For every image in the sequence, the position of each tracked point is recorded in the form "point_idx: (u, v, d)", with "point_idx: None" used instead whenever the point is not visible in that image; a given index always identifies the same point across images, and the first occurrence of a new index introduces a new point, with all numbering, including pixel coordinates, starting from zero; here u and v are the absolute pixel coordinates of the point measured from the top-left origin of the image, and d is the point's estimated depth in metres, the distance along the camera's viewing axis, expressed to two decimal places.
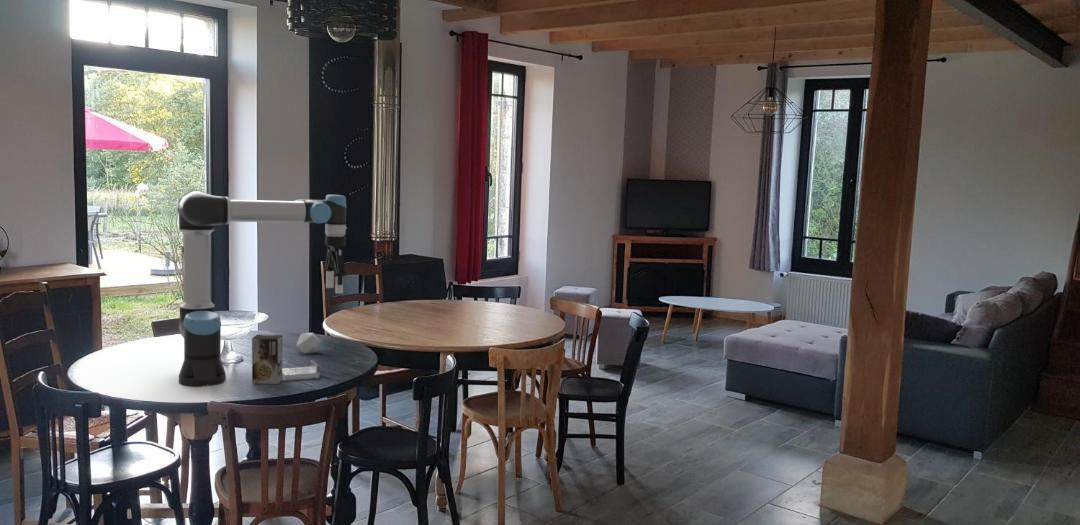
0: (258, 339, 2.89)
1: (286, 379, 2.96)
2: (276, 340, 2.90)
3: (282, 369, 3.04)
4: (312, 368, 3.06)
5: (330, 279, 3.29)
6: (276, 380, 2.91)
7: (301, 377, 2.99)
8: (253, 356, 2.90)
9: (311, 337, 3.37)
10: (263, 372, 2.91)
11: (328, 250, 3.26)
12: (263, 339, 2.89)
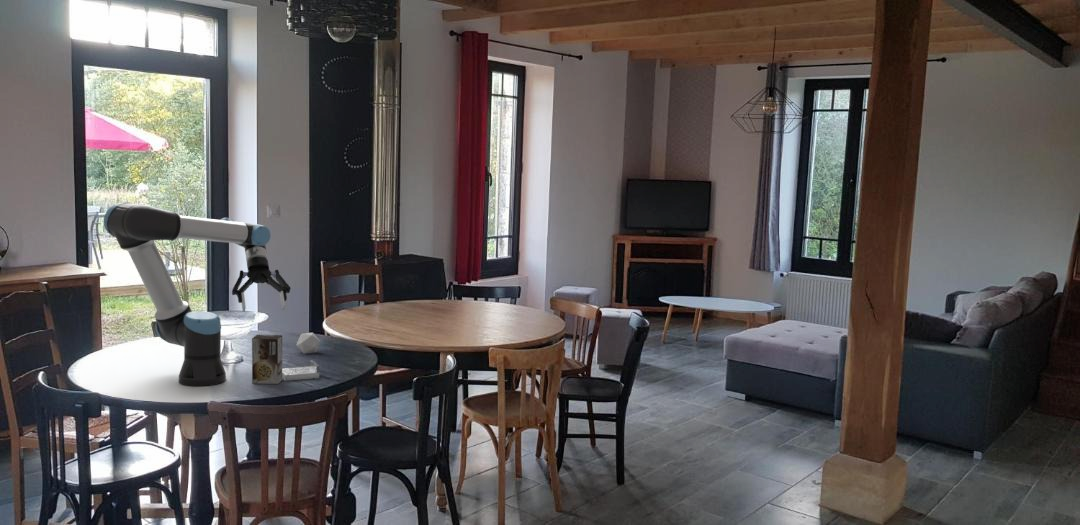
0: (258, 339, 2.89)
1: (286, 379, 2.96)
2: (276, 340, 2.90)
3: (282, 369, 3.04)
4: (312, 368, 3.06)
5: (281, 300, 3.06)
6: (276, 380, 2.91)
7: (301, 377, 2.99)
8: (253, 356, 2.90)
9: (311, 337, 3.37)
10: (263, 372, 2.91)
11: (273, 276, 3.13)
12: (263, 339, 2.89)
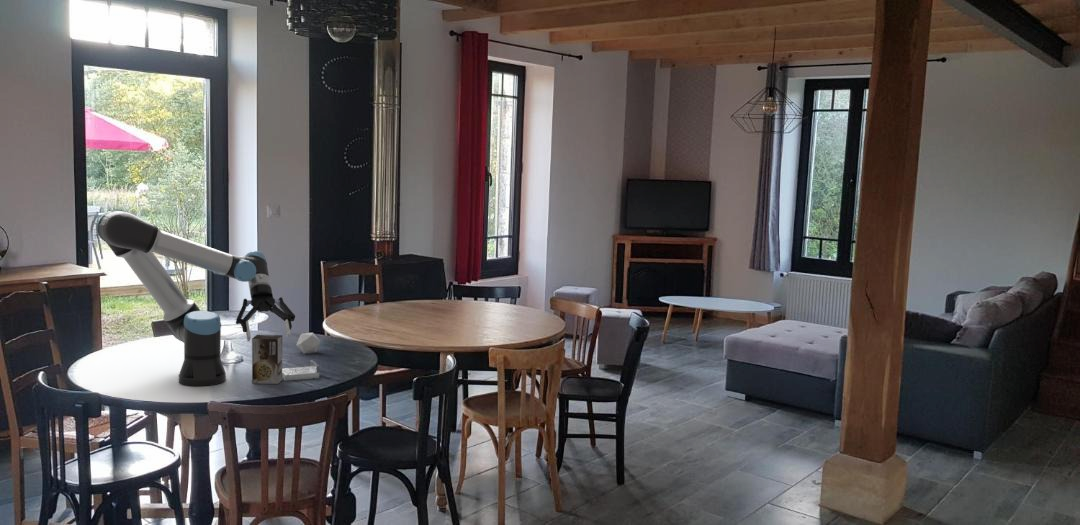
0: (258, 339, 2.89)
1: (286, 379, 2.96)
2: (276, 340, 2.90)
3: (282, 369, 3.04)
4: (312, 368, 3.06)
5: (286, 328, 3.01)
6: (276, 380, 2.91)
7: (301, 377, 2.99)
8: (253, 356, 2.90)
9: (311, 337, 3.37)
10: (263, 372, 2.91)
11: (277, 304, 3.07)
12: (263, 339, 2.89)
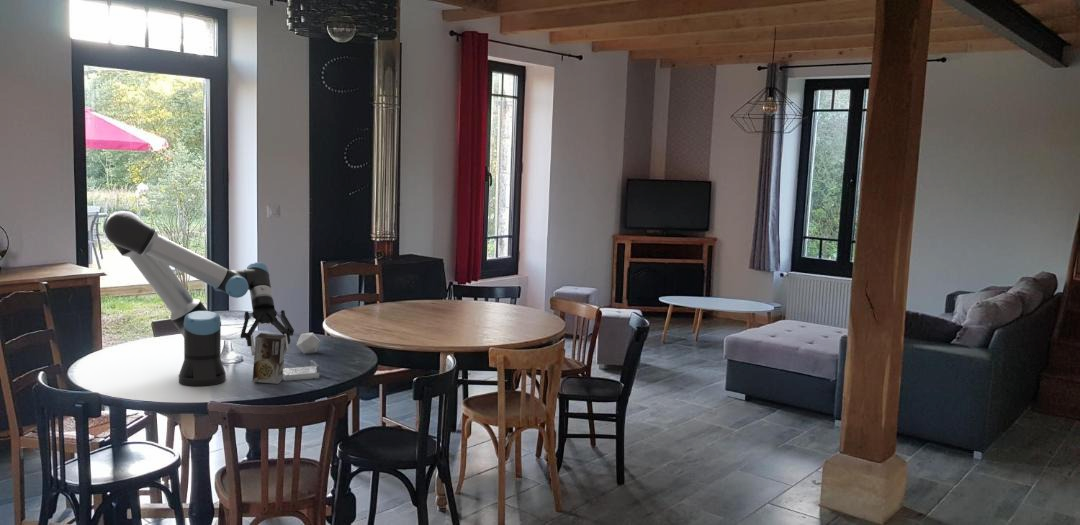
0: (262, 338, 2.89)
1: (286, 379, 2.96)
2: (279, 340, 2.90)
3: None
4: (312, 368, 3.06)
5: None
6: (277, 380, 2.91)
7: (301, 377, 2.99)
8: (255, 354, 2.90)
9: (311, 337, 3.37)
10: (264, 372, 2.91)
11: (279, 317, 3.04)
12: (267, 338, 2.89)
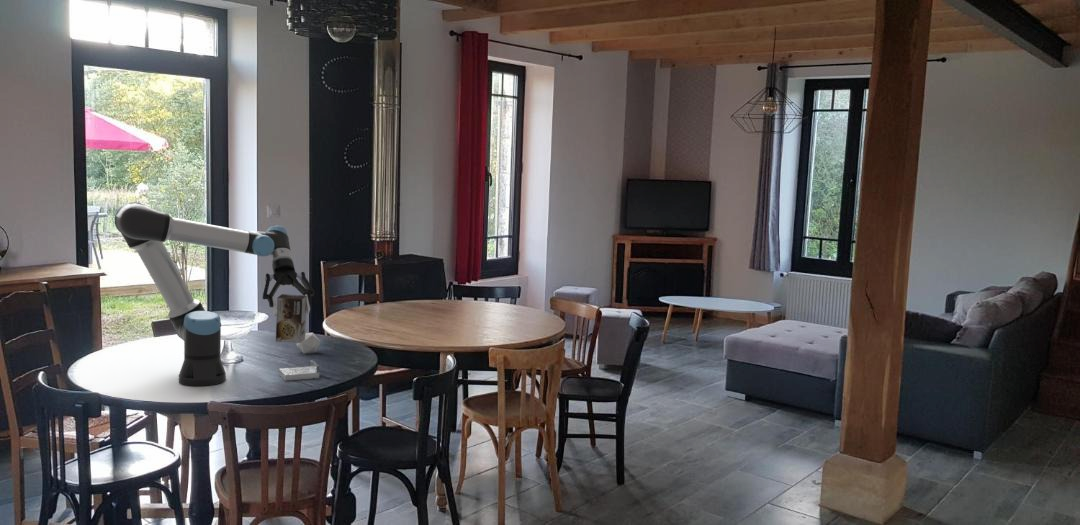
0: (283, 298, 2.94)
1: (286, 379, 2.96)
2: (301, 300, 2.94)
3: (282, 369, 3.04)
4: (312, 368, 3.06)
5: None
6: (299, 339, 2.96)
7: (301, 377, 2.99)
8: (277, 315, 2.95)
9: (311, 337, 3.37)
10: (287, 331, 2.95)
11: (299, 278, 3.08)
12: (288, 299, 2.94)
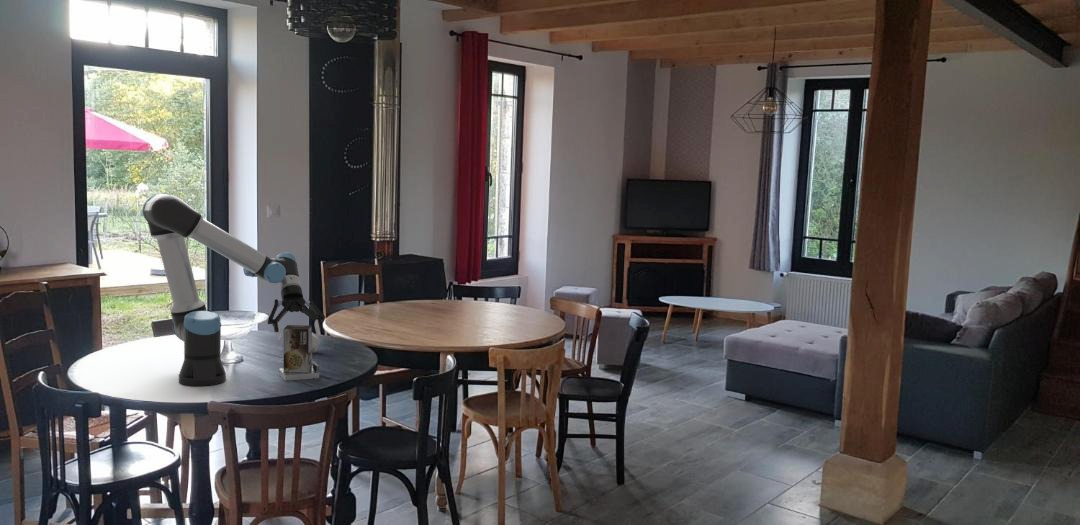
0: (289, 329, 2.98)
1: (286, 379, 2.96)
2: (307, 330, 2.98)
3: (282, 369, 3.04)
4: (312, 368, 3.06)
5: (316, 328, 3.06)
6: (307, 369, 3.00)
7: (301, 377, 2.99)
8: (284, 346, 2.99)
9: None
10: (294, 362, 2.99)
11: None
12: (294, 329, 2.98)
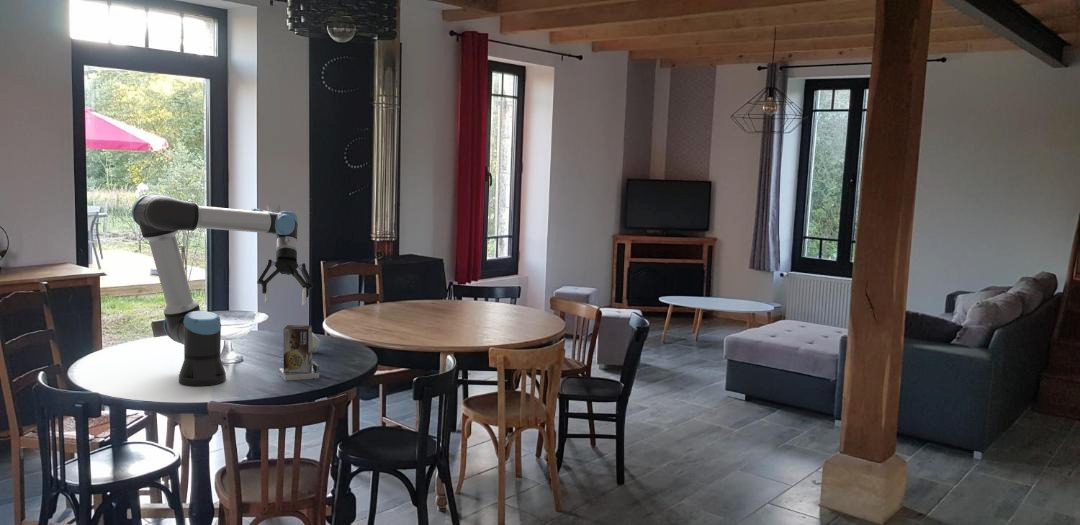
0: (289, 329, 2.98)
1: (286, 379, 2.96)
2: (307, 330, 2.98)
3: (282, 369, 3.04)
4: (312, 368, 3.06)
5: (303, 296, 3.14)
6: (307, 369, 3.00)
7: (301, 377, 2.99)
8: (284, 346, 2.99)
9: None
10: (294, 362, 2.99)
11: None
12: (294, 329, 2.98)
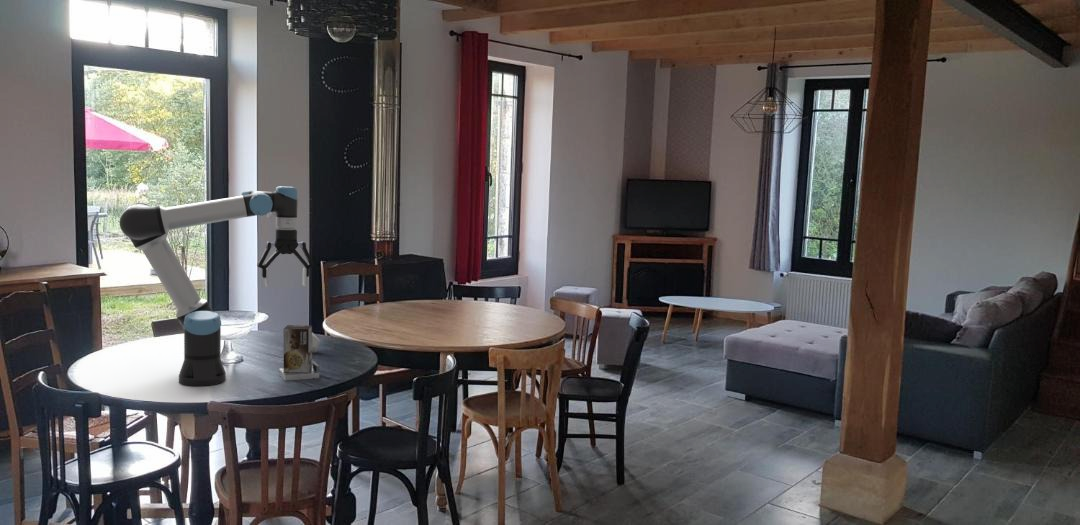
0: (289, 329, 2.98)
1: (286, 379, 2.96)
2: (307, 330, 2.98)
3: (282, 369, 3.04)
4: (312, 368, 3.06)
5: (303, 276, 3.14)
6: (307, 369, 3.00)
7: (301, 377, 2.99)
8: (284, 346, 2.99)
9: None
10: (294, 362, 2.99)
11: None
12: (294, 329, 2.98)
